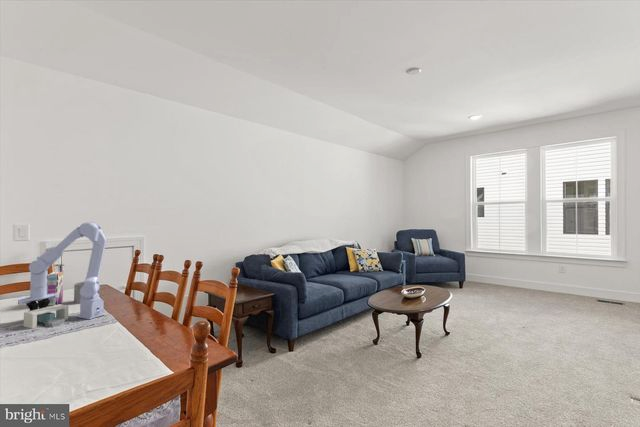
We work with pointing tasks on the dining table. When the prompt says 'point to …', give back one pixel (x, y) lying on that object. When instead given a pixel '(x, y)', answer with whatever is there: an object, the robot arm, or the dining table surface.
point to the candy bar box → (55, 287)
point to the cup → (77, 292)
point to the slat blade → (45, 316)
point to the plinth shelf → (31, 316)
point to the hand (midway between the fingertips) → (38, 317)
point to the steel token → (54, 321)
